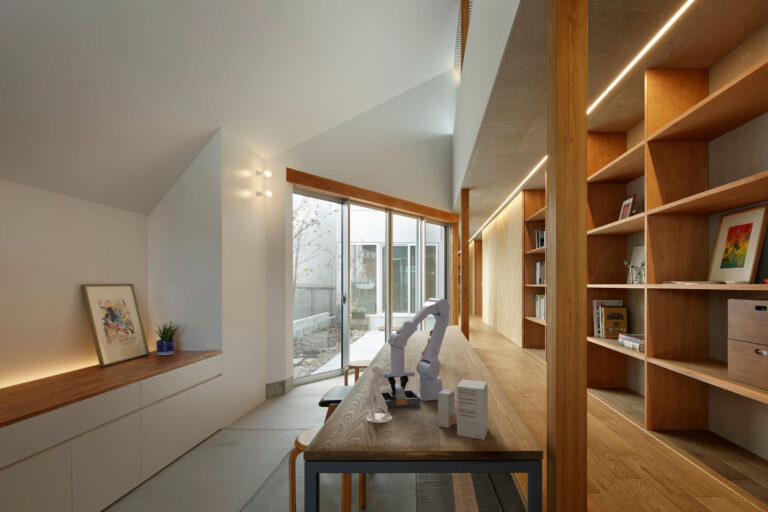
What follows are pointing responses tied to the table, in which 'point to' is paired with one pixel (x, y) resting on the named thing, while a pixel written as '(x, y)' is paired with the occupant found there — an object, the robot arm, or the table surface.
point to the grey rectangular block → (399, 392)
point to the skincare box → (446, 408)
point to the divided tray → (401, 400)
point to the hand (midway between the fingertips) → (397, 394)
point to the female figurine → (377, 398)
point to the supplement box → (472, 409)
